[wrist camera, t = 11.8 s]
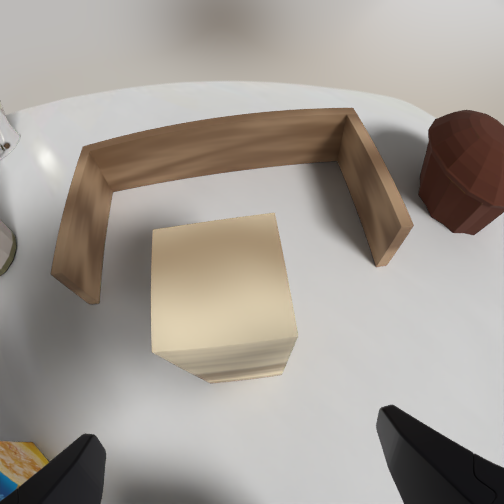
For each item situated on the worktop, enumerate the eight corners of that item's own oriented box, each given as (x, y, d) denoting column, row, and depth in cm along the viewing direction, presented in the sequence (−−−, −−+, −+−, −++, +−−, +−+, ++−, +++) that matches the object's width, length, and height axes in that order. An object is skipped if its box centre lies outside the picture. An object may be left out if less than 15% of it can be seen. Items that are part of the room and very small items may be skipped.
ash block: (281, 374, 21) (298, 335, 10) (210, 383, 20) (151, 352, 10) (271, 308, 23) (274, 212, 12) (204, 317, 23) (152, 229, 12)
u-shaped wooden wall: (386, 265, 24) (413, 225, 19) (89, 304, 24) (50, 274, 18) (343, 153, 30) (353, 107, 25) (105, 186, 30) (82, 146, 25)
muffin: (479, 268, 23) (541, 207, 15) (390, 202, 27) (426, 121, 18) (500, 197, 27) (540, 139, 19) (427, 145, 31) (454, 78, 22)
